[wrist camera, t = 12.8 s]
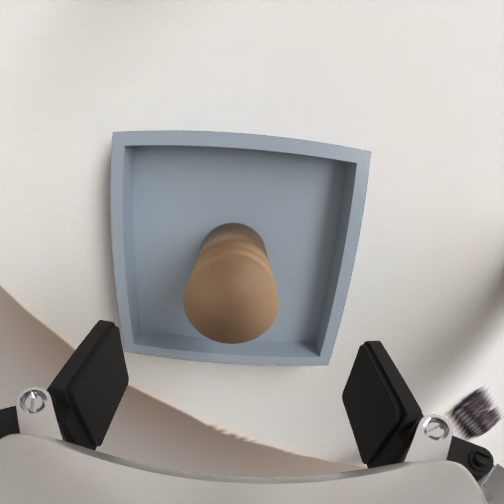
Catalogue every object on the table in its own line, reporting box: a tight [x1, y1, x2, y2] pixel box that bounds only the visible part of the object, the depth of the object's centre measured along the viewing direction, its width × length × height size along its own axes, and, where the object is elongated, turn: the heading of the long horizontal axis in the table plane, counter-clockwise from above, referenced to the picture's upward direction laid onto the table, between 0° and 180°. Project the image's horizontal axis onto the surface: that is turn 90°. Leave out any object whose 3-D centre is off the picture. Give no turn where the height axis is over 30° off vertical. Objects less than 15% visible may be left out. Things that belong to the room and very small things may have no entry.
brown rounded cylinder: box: [183, 223, 279, 344], centre depth 19 cm, size 5×5×8 cm
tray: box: [110, 131, 371, 366], centre depth 22 cm, size 18×18×3 cm
